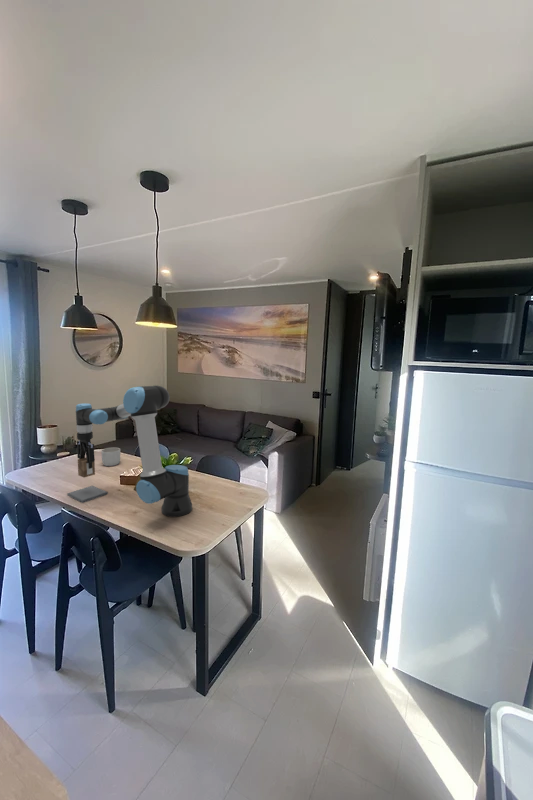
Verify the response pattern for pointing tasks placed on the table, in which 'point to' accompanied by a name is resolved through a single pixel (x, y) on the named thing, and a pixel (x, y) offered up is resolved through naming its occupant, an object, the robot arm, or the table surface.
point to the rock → (137, 482)
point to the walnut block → (84, 467)
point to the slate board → (87, 494)
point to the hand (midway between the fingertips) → (86, 472)
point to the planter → (110, 456)
